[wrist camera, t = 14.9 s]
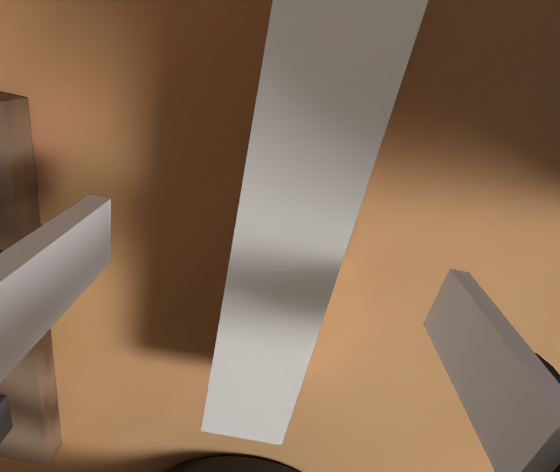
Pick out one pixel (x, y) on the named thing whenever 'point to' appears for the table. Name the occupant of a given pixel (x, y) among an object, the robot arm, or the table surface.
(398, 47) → the white slab
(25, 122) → the cable cradle
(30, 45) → the table surface
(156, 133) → the table surface
